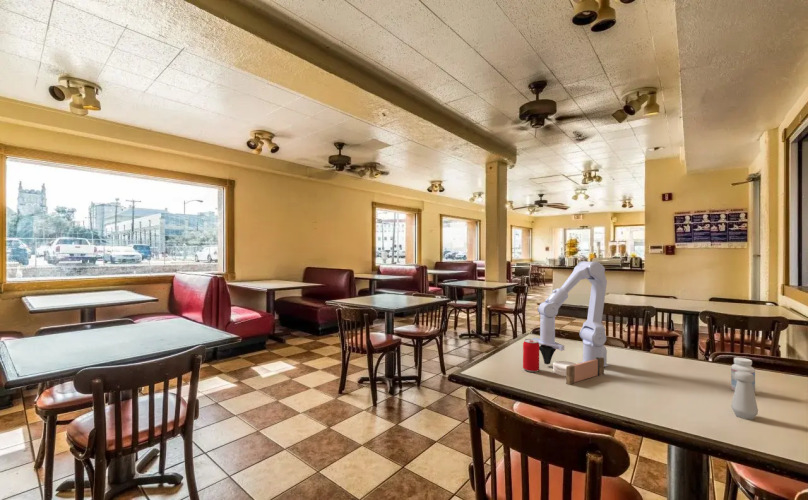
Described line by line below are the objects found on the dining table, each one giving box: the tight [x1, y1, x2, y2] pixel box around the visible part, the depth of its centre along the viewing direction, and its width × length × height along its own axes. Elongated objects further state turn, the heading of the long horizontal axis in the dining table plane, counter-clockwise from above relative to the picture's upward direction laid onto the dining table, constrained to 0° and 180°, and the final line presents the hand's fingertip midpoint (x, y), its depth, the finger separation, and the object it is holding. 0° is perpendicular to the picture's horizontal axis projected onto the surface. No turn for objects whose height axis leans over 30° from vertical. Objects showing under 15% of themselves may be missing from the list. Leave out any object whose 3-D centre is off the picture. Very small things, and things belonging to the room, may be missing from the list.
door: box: [573, 359, 598, 383], centre depth 135 cm, size 15×2×6 cm, turn 121°
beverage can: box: [522, 338, 540, 373], centre depth 144 cm, size 6×6×12 cm
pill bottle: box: [730, 357, 756, 394], centre depth 124 cm, size 6×6×11 cm
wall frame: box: [565, 357, 605, 386], centre depth 135 cm, size 22×1×7 cm, turn 121°
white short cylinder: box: [552, 360, 577, 377], centre depth 142 cm, size 10×10×4 cm
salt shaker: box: [730, 371, 759, 421], centre depth 105 cm, size 6×6×13 cm
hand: (547, 363), depth 149 cm, fingers closed
